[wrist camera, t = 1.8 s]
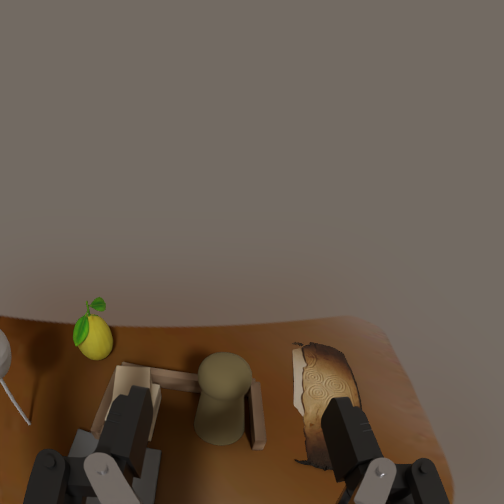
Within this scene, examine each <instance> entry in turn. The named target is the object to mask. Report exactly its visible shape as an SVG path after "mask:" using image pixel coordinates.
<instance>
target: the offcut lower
mask: <svg viewBox="0 0 504 504" xmlns="http://www.w3.org/2000/svg"><path fill="white" fill-rule="evenodd" d="M152 402H153V423H152V425H151V429H150V434H149V438H148V441H151V439H152V435H153V430H154V426H155V422H156V418H157V414H158V410H159V406H160V402H161V390H160V385H157V384H152ZM111 404H112V402H111ZM110 407H111V405H110ZM110 407H109V410H110ZM109 410H108V412H107V415H108V413H109ZM107 415H106V417H105V421H106V418H107Z"/></svg>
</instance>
